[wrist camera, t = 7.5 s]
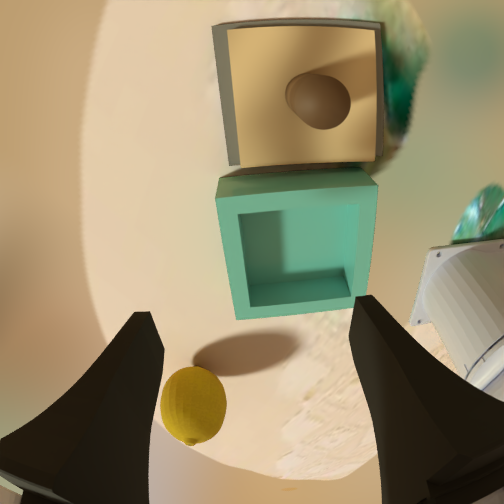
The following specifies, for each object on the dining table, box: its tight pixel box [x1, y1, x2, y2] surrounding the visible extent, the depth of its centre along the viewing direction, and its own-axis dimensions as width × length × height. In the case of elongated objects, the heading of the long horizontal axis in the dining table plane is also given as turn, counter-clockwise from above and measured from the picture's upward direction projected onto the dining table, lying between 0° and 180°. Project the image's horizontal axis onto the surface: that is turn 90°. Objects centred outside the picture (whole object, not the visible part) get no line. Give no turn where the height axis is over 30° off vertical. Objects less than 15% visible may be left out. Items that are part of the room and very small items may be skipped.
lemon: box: [160, 366, 227, 446], centre depth 25 cm, size 6×6×8 cm
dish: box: [215, 167, 378, 320], centre depth 19 cm, size 8×8×3 cm
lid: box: [227, 26, 377, 168], centre depth 14 cm, size 8×8×4 cm
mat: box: [212, 19, 384, 166], centre depth 15 cm, size 9×8×1 cm
